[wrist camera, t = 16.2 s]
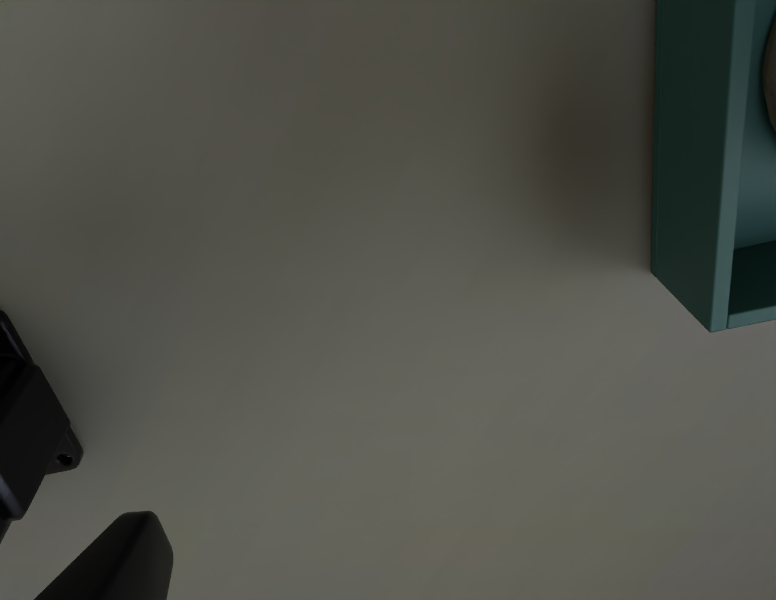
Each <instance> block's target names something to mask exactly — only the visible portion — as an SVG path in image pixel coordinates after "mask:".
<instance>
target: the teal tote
mask: <svg viewBox="0 0 776 600" xmlns="http://www.w3.org/2000/svg"><path fill="white" fill-rule="evenodd" d="M775 17H776V0H657V16H656V62H655V108H654V155H653V201H652V248H651V273H652V274H653V275H654V276H655V277H657V279H658V280H659V281H660V282H661V283H662V284H663V285H664V286H665V287H666V288H667V289H668V290H669V291H670V292H671V293H672V294H673V295H674V296H675V297H676V298H677V299H678V300H679V301H680V303H681V304H682V305H683V306H684V307H685V308H686V309H687V310H688V311H689V312H690V313H691V314H692V315H693V316H694V317H695V318H696V319H697V320H698V321H699V322H700V323H701V324H702V325H703V326H704V327H705V328H706V329H707V330H708V331H709V332H716V331H721V330H725V329H726V328H727V329H731V328H736V327H741V326H746V325H751V324H755V323H760V322H765V321H770V320H775V319H776V131H775V129H774V128H773V126H772V124H771V122H770V118H769V112H768V107H767V102H766V98H765V96H764V91H763V78H762V68H763V62H764V56H765V51H766V47H767V43H768V39H769V36H770V32H771V28H772V25H773V22H774V20H775Z"/></svg>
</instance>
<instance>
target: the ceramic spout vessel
mask: <svg viewBox="0 0 776 600" xmlns="http://www.w3.org/2000/svg"><path fill="white" fill-rule="evenodd" d="M762 78H763V91H764V96H765V98H766V102H767V107H768V112H769V118H770V122H771V124H772V126H773V128H774V129H775V131H776V17H775V20H774V22H773V25H772V28H771V32H770V36H769V39H768V43H767V47H766V51H765V56H764V62H763V68H762Z"/></svg>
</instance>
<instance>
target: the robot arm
mask: <svg viewBox="0 0 776 600" xmlns="http://www.w3.org/2000/svg"><path fill="white" fill-rule="evenodd" d="M83 453H84V452H83V449H82V447H81V445H80V443H79V441H78V440H77V438H76V436H75V434H74V433H73V431H72V429H71V427H70V421H69V419H68V417H67V415H66V413H65V412H64V410H63V408H62V406H61V405H60V403H59V401H58V399H57V397H56V396H55V394H54V392H53V390H52V388H51V387H50V385H49V383H48V381H47V380H46V378H45V376H44V374H43V372H42V371H41V369H40V367H39V366H37V365H36V364H35V363H34V362H33V360H32V358H31V356H30V354H29V353H28V351H27V349H26V347H25V346H24V344H23V342H22V340H21V339H20V337H19V335H18V333H17V331H16V330H15V328H14V326H13V324H12V323H11V321H10V319H9V317H8V316H7V315H6V314H5V312H3V311H2V310H0V543H1V541H2V539H3V537H4V535H5V534H6V532H7V530H8V528H9V526H10V524H11V522H12V521H15V520H20V519H22V518H23V516H24V515H25V513H26V511H27V510H28V508H29V506H30V504H31V502H32V500H33V498H34V496H35V494H36V492H37V490H38V488H39V486H40V484H41V482H42V480H43V478H44V476H45V475H47V474H52V473H57V472H62V471H67V470H71V469H74V468H76V467H77V466H78V465H79V463H80V461H81V459H82V457H83ZM63 454H67V455H70V456H71V457H67V456H64V455H63ZM172 567H173V551H172V547H171V545H170V543H169V540H168V538H167V536H166V534H165V532H164V530H163V528H162V525H161V523H160V521H159V519H158V517H157V515H156V514H154V513H153V512H151V511H140V512H127V513H124V514H122V515H121V516H119V517H118V518H117V519H116V520H115V521H114V522H113V523H112V524H111V525H110V526H109V527H108V528H107V529H106V530H105V531H104V532H103V533H102V534H100V535H99V536H98V537H97V538H96V539H95V540H94V541H93V542H92V543H91V544H90V545H89V546H88V547H87V548H86V549H85V550H84V551H83V552H82V553H81V554H80V555H79V556H78V557H77V558H76V559H75V560H74V561H73V562H72V563H71V564H70V565H69V566H68V567H67V568H66V569H65V570H64V571H63V572H62V573H61V574H60V575H59V576H58V577H57V578H55V579H54V580H53V581H52V582H51V583H50V584H49V585H48V586H47V587H46V588H45V589H44V590H43V591H42V592H41V593H40V594H39V595H38V596H37V597H36V598H35V599H34V600H167V594H168V589H169V583H170V578H171V573H172Z"/></svg>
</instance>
